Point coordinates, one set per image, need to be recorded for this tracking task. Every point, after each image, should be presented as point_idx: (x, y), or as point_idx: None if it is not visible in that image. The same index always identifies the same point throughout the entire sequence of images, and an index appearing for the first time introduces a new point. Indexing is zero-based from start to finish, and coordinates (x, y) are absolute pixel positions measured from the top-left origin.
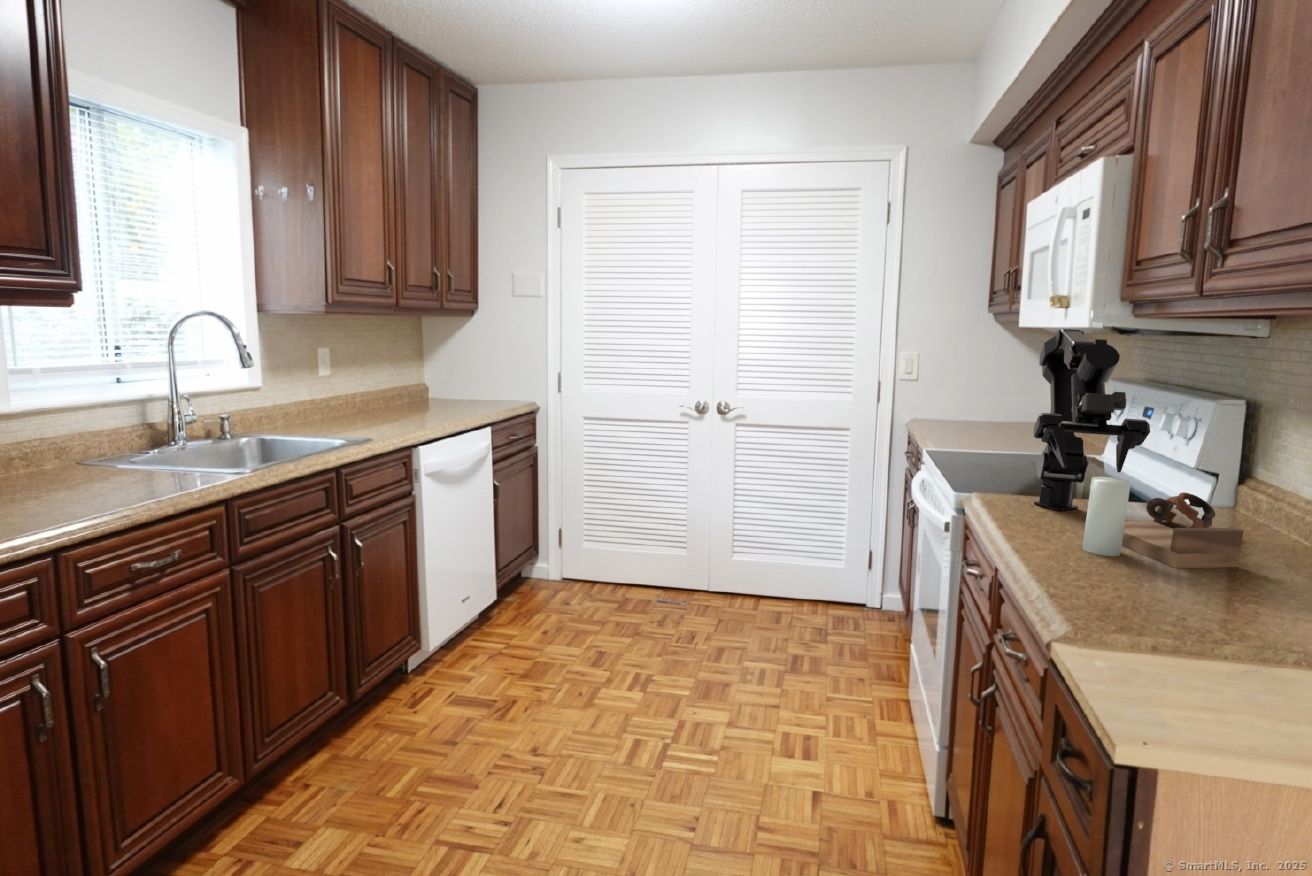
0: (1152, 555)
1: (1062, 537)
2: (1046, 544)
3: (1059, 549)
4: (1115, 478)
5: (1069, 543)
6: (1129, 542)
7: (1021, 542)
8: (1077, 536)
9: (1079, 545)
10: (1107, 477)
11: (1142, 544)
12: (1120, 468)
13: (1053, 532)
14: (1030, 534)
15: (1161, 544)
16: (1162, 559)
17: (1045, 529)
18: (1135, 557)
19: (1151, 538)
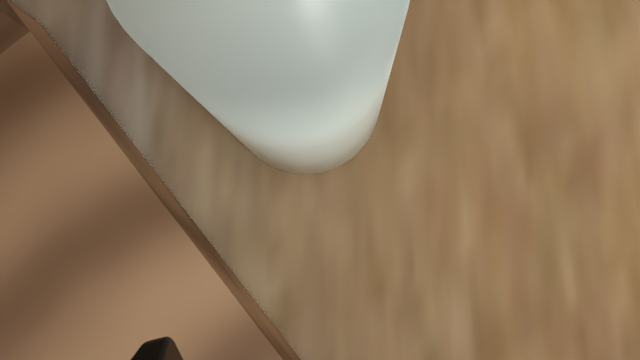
0: (109, 116)
1: (474, 234)
2: (524, 54)
3: (465, 7)
4: (216, 57)
5: (436, 141)
6: (190, 226)
7: (625, 15)
8: (413, 303)
9: (394, 134)
10: (288, 54)
11: (136, 161)
12: (151, 343)
13: (522, 308)
14: (613, 191)
15: (55, 126)
16: (75, 73)
17: (564, 346)
18: (176, 88)
19: (89, 220)
